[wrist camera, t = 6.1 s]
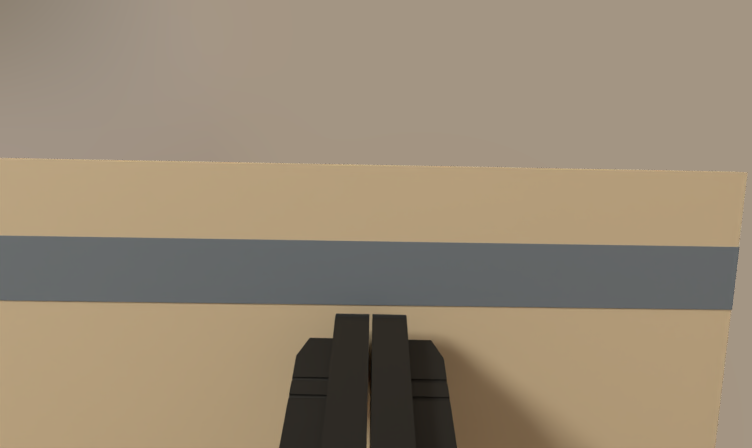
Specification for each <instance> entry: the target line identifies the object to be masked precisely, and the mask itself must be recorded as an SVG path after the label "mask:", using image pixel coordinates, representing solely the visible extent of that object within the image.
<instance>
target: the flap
mask: <svg viewBox="0 0 752 448" xmlns="http://www.w3.org/2000/svg"><path fill="white" fill-rule="evenodd" d="M746 181H747V173H744V172H723V171H722V172H721V171H719V172H718V171H670V170H615V169H561V168H560V169H559V168H509V167H504V168H503V167H456V166H450V167H449V166H401V165H349V164H348V165H347V164H343V165H342V164H293V163H292V164H291V163H241V162H238V163H237V162H188V161H185V162H184V161H183V162H182V161H135V160H134V161H133V160H79V159H27V158H26V159H25V158H0V448H279V445H280V440H281V434H282V429H283V424H284V418H285V413H286V408H287V402H288V398H289V392H290V386H291V381H292V375H293V370H294V365H295V359H296V355H297V354H298V353H299V351H300V350H301V349H302V347H303V346H304V345H305V343H306V342H307V341H308V339H309V338H333V332H334V323H335V315H336V313H340V314H369V359H368V404H367V448H370V389H371V348H372V314H392V315H406V317H407V329H408V340H431V341H432V342H433V344H434V345H435V346H436V348H437V349H438V351H439V352H440V354H441V355H442V357H443V358H444V363H445V370H446V376H447V384H448V390H449V397H450V398H449V400H450V403H451V410H452V417H453V423H454V430H455V437H456V444H457V448H715V443H716V435H717V426H718V418H719V409H720V401H721V400H720V399H721V392H722V384H723V375H724V367H725V358H726V350H727V341H728V333H729V324H730V316H731V310H732V305H733V295H734V288H735V279H736V271H737V262H738V254H739V240H740V231H741V223H742V214H743V205H744V198H745V189H746Z"/></svg>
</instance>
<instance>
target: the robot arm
mask: <svg viewBox="0 0 752 448" xmlns="http://www.w3.org/2000/svg"><path fill="white" fill-rule="evenodd" d="M368 359H369V314H340V313H336V315H335V323H334V332H333V338H309V339H308V341H307V342H306V343H305V345H304V346H303V347H302V349H301V350H300V351H299V353H298V354H297V355H296V359H295V365H294V370H293V375H292V381H291V386H290V392H289V398H288V402H287V408H286V413H285V418H284V424H283V429H282V434H281V440H280V445H279V448H367V404H368ZM449 398H450V397H449V390H448V384H447V376H446V370H445V363H444V358H443V357H442V355H441V354H440V352H439V351H438V349H437V348H436V346H435V345H434V344H433V342H432V341H431V340H408V329H407V317H406V315H392V314H372V348H371V389H370V448H457V444H456V437H455V430H454V423H453V417H452V410H451V403H450V400H449Z"/></svg>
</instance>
